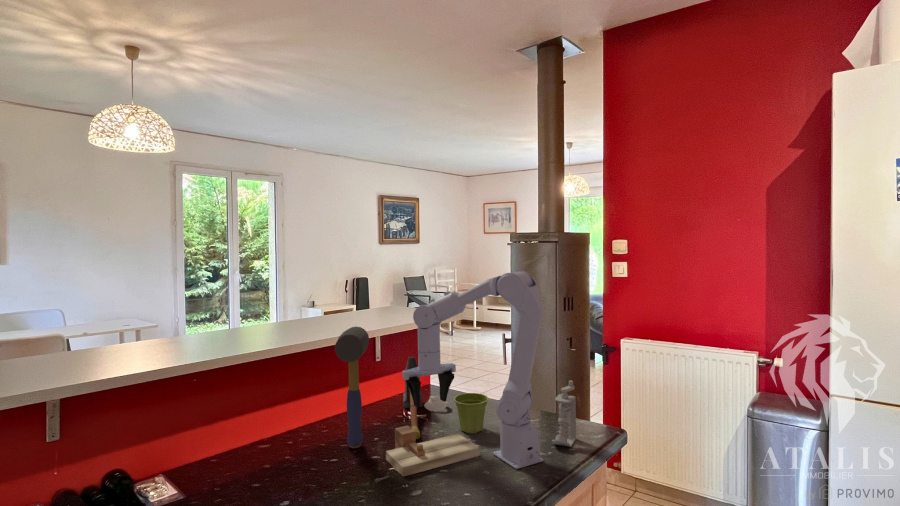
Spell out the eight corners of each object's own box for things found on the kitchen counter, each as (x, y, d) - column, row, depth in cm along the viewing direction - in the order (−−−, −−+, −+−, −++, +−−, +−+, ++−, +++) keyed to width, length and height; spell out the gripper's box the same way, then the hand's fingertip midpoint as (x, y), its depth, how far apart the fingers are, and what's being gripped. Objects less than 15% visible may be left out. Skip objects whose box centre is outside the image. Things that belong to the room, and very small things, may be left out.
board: (479, 455, 117) (479, 447, 117) (402, 476, 107) (402, 467, 107) (458, 441, 125) (458, 433, 125) (386, 459, 116) (385, 450, 116)
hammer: (403, 405, 124) (402, 354, 153) (404, 459, 128) (403, 399, 157) (426, 404, 125) (421, 353, 154) (426, 458, 129) (421, 398, 158)
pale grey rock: (422, 414, 148) (420, 399, 148) (427, 405, 155) (426, 390, 155) (447, 414, 147) (445, 398, 146) (452, 405, 153) (450, 390, 153)
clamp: (550, 449, 120) (549, 388, 119) (560, 435, 128) (559, 378, 128) (567, 452, 118) (566, 390, 117) (576, 437, 126) (576, 380, 126)
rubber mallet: (366, 456, 117) (363, 333, 117) (335, 457, 117) (332, 333, 116) (372, 436, 130) (370, 324, 129) (344, 437, 129) (342, 325, 129)
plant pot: (489, 436, 128) (489, 403, 128) (454, 436, 129) (453, 403, 128) (488, 423, 138) (487, 392, 138) (454, 423, 138) (454, 393, 138)
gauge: (428, 463, 113) (428, 441, 113) (414, 466, 112) (414, 444, 111) (408, 445, 123) (408, 425, 123) (395, 449, 121) (394, 428, 121)
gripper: (446, 344, 132) (447, 394, 133) (397, 351, 125) (398, 403, 126) (459, 349, 126) (460, 401, 127) (408, 356, 119) (409, 411, 119)
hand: (430, 403), depth 126 cm, fingers open, 7 cm apart
